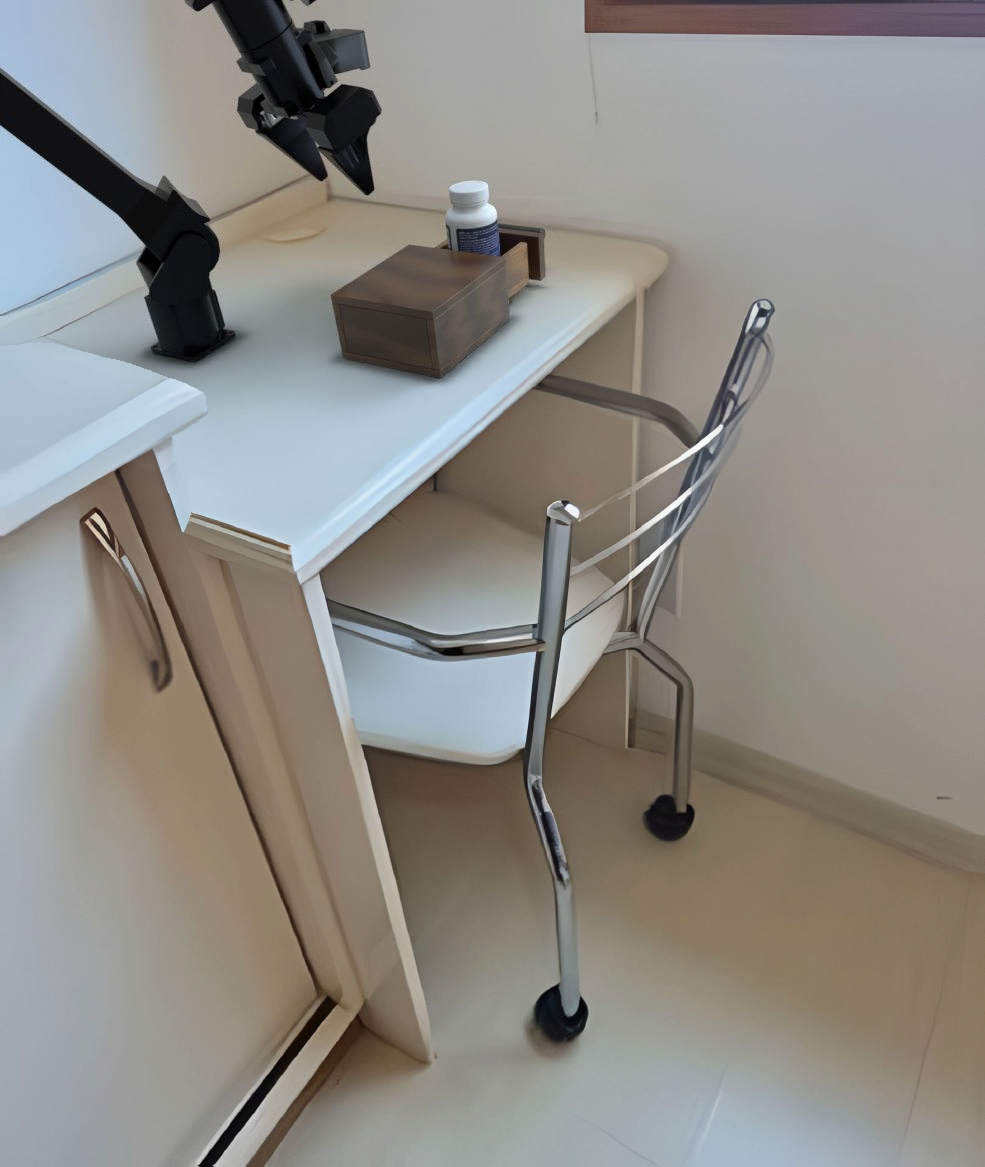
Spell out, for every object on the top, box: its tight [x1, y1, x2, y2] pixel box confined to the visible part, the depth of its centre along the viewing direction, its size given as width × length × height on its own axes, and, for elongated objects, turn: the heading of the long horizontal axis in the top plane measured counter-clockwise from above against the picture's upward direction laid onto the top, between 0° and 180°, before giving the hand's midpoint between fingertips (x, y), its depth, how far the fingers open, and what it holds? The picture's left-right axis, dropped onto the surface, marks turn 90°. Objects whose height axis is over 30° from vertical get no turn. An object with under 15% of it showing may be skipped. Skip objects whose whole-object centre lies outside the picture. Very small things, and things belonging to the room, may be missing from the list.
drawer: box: [433, 222, 547, 300], centre depth 100 cm, size 17×10×5 cm, turn 150°
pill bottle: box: [444, 180, 500, 257], centre depth 97 cm, size 5×5×10 cm
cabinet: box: [330, 244, 511, 379], centre depth 92 cm, size 14×12×7 cm
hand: (346, 185), depth 96 cm, fingers open, 9 cm apart
